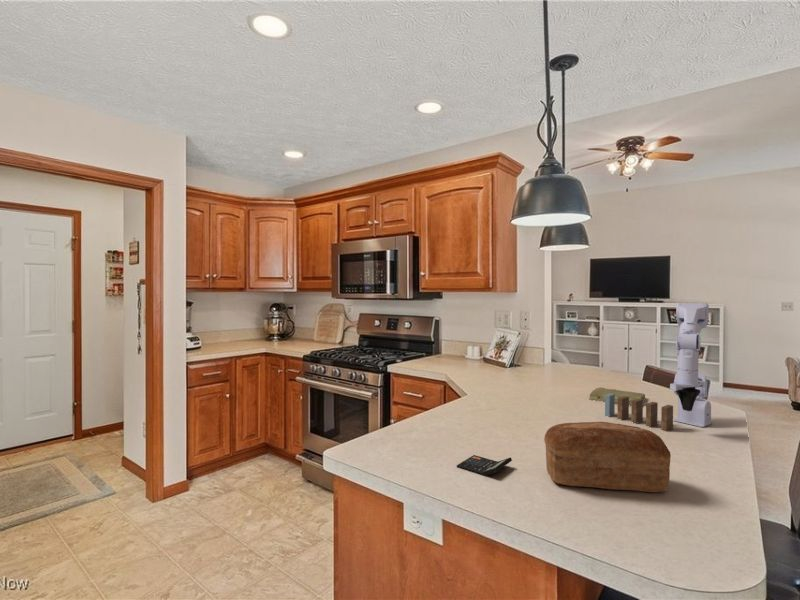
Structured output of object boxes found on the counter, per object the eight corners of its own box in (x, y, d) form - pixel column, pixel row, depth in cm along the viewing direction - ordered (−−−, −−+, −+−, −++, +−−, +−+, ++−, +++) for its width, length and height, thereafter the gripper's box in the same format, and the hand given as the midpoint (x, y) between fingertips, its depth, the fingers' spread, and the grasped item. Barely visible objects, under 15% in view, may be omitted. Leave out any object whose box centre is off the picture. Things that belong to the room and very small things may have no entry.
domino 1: (614, 414, 160) (614, 393, 160) (609, 417, 157) (609, 396, 157) (610, 413, 162) (610, 393, 161) (604, 416, 158) (605, 395, 158)
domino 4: (657, 424, 148) (657, 402, 148) (650, 427, 145) (650, 404, 145) (652, 423, 149) (652, 401, 149) (645, 426, 146) (646, 403, 146)
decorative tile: (596, 393, 197) (596, 385, 197) (645, 400, 184) (645, 392, 184) (586, 401, 182) (587, 393, 182) (639, 409, 170) (639, 400, 170)
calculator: (473, 457, 119) (473, 447, 119) (512, 468, 111) (512, 457, 111) (456, 468, 112) (456, 457, 111) (496, 480, 104) (496, 469, 104)
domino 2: (628, 418, 156) (628, 396, 156) (621, 420, 153) (622, 398, 153) (624, 417, 157) (624, 396, 157) (617, 419, 154) (617, 397, 154)
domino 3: (642, 421, 152) (642, 399, 152) (635, 423, 149) (636, 401, 149) (638, 420, 153) (638, 398, 153) (631, 422, 150) (631, 400, 150)
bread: (541, 468, 111) (541, 415, 111) (654, 476, 106) (655, 420, 106) (549, 489, 99) (549, 429, 99) (677, 499, 95) (678, 436, 94)
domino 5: (672, 428, 144) (673, 405, 143) (666, 431, 141) (666, 408, 141) (667, 427, 145) (668, 404, 145) (661, 430, 142) (661, 407, 142)
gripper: (689, 366, 144) (689, 405, 144) (661, 368, 139) (660, 409, 139) (711, 369, 137) (711, 410, 138) (682, 372, 132) (681, 415, 132)
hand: (687, 410), depth 138 cm, fingers closed
